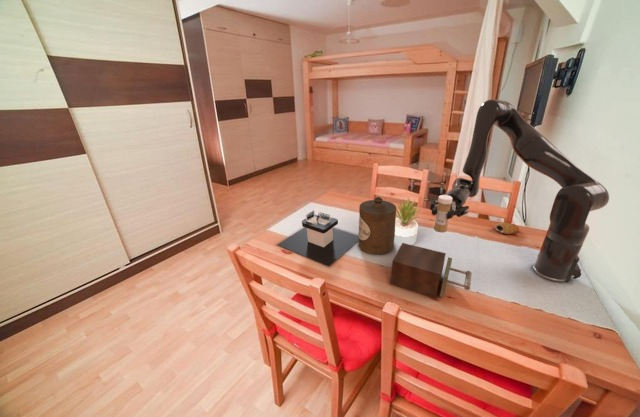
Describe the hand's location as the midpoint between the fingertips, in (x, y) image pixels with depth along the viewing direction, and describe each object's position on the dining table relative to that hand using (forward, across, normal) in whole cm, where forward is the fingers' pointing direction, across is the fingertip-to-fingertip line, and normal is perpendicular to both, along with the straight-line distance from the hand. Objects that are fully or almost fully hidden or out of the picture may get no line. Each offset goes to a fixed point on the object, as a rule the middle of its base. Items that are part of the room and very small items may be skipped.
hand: (440, 214), depth 93 cm
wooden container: (+3, -23, +20) cm, 31 cm away
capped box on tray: (+15, -44, +20) cm, 51 cm away
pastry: (-42, +18, +20) cm, 50 cm away
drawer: (+14, +5, +19) cm, 24 cm away
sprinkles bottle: (-3, 0, +8) cm, 8 cm away
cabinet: (+15, -1, +20) cm, 25 cm away
